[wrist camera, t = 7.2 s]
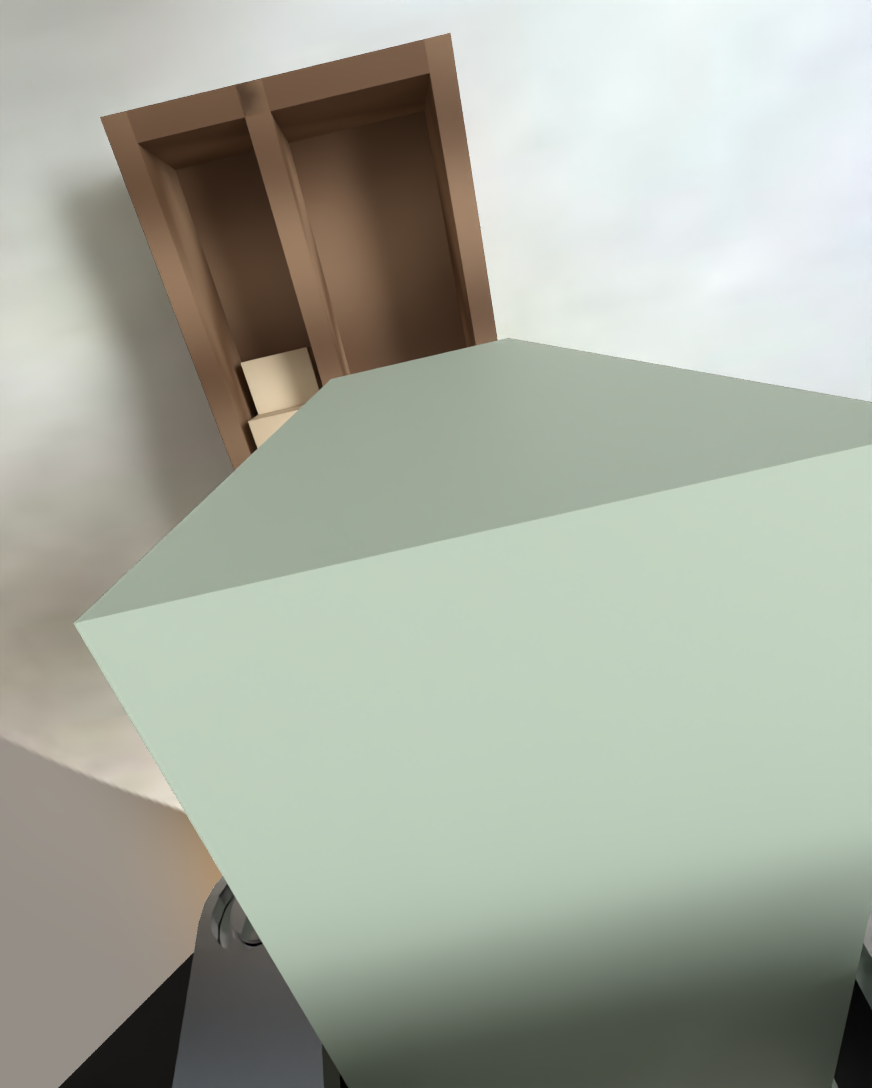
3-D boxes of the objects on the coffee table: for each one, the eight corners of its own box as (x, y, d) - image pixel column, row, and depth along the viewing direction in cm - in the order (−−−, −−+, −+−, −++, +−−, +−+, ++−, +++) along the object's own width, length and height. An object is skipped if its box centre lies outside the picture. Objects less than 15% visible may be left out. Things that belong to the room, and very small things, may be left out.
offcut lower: (251, 360, 21) (240, 362, 20) (312, 345, 21) (306, 347, 20) (316, 554, 25) (311, 568, 23) (369, 542, 25) (367, 556, 23)
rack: (158, 158, 19) (99, 117, 16) (438, 91, 19) (450, 33, 15) (358, 723, 30) (352, 781, 27) (537, 683, 30) (558, 736, 26)
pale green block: (330, 379, 11) (72, 621, 2) (508, 338, 11) (979, 419, 2) (434, 744, 16) (488, 1325, 7) (562, 717, 16) (792, 1264, 7)
